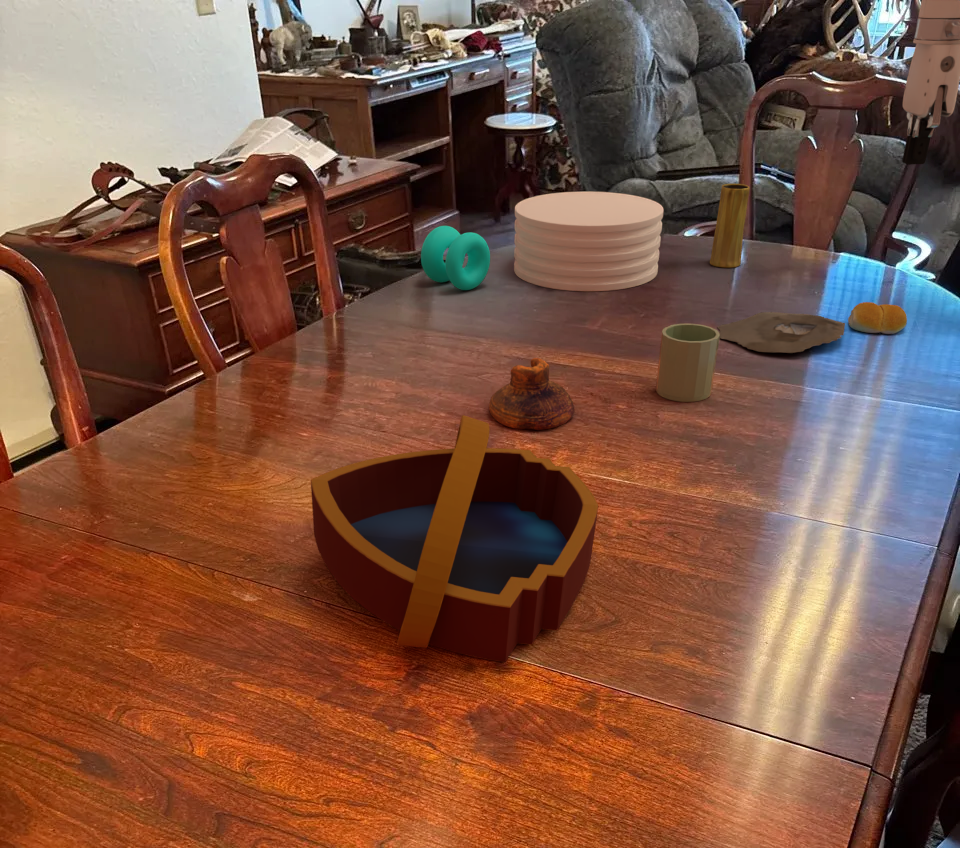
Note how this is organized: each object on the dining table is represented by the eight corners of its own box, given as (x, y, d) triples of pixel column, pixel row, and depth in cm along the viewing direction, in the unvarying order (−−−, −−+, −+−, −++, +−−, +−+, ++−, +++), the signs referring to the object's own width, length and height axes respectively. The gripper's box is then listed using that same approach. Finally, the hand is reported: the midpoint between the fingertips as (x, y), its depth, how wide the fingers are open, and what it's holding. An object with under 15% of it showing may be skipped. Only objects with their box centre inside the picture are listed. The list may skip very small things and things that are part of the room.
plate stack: (486, 276, 184) (486, 212, 178) (560, 244, 203) (563, 185, 196) (614, 300, 171) (619, 233, 165) (681, 264, 190) (688, 202, 183)
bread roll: (909, 336, 155) (915, 311, 152) (851, 334, 156) (857, 309, 154) (899, 320, 161) (905, 296, 159) (844, 317, 162) (849, 294, 160)
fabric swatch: (699, 338, 159) (699, 329, 158) (799, 307, 166) (800, 298, 165) (777, 368, 145) (778, 358, 144) (883, 333, 153) (884, 323, 152)
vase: (733, 270, 186) (745, 191, 178) (704, 265, 189) (714, 187, 181) (745, 262, 190) (756, 185, 182) (716, 258, 193) (726, 181, 185)
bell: (512, 438, 125) (513, 384, 121) (475, 405, 134) (474, 354, 129) (590, 422, 129) (593, 370, 124) (549, 391, 137) (551, 341, 133)
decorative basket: (564, 702, 85) (601, 561, 76) (252, 632, 87) (252, 486, 78) (593, 522, 112) (623, 403, 103) (355, 471, 114) (363, 349, 105)
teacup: (706, 381, 140) (714, 323, 135) (715, 402, 134) (724, 342, 129) (653, 381, 140) (658, 323, 135) (659, 402, 134) (666, 342, 129)
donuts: (458, 274, 185) (457, 220, 179) (493, 285, 179) (493, 229, 173) (418, 285, 180) (416, 229, 174) (453, 296, 174) (452, 239, 168)
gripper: (987, 34, 140) (954, 171, 151) (946, 27, 152) (918, 154, 163) (936, 36, 140) (907, 172, 151) (899, 29, 152) (874, 156, 163)
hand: (913, 163), depth 157 cm, fingers closed
